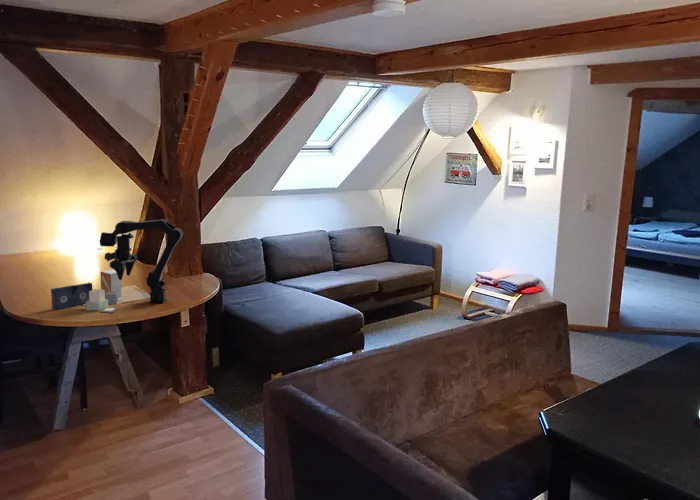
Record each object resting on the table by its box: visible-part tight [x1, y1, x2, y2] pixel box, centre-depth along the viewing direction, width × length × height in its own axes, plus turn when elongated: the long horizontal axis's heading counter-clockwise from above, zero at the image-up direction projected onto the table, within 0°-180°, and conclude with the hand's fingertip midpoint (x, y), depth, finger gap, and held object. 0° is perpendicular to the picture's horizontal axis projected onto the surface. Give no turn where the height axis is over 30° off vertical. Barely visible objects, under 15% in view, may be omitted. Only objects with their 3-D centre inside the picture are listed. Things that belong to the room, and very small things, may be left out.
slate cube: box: [105, 291, 119, 305], centre depth 270 cm, size 5×5×5 cm
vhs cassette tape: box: [50, 282, 94, 311], centre depth 262 cm, size 18×3×10 cm, turn 139°
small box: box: [100, 269, 123, 298], centre depth 280 cm, size 8×6×13 cm
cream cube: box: [89, 288, 106, 303], centre depth 260 cm, size 5×5×5 cm
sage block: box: [85, 298, 109, 312], centre depth 261 cm, size 7×7×4 cm
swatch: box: [99, 307, 119, 314], centre depth 258 cm, size 6×6×1 cm
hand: (124, 277), depth 272 cm, fingers open, 9 cm apart
